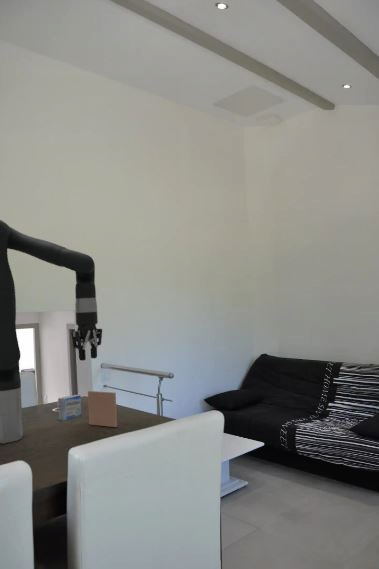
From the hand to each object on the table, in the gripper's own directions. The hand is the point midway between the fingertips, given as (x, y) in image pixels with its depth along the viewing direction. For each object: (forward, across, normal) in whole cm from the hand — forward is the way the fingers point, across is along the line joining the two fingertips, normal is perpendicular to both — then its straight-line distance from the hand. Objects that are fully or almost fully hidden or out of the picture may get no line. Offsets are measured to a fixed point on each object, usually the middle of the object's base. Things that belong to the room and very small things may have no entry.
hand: (88, 359), depth 166 cm
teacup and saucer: (+26, +27, +36) cm, 52 cm away
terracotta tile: (+25, +7, 0) cm, 26 cm away
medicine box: (+26, +13, +22) cm, 36 cm away
